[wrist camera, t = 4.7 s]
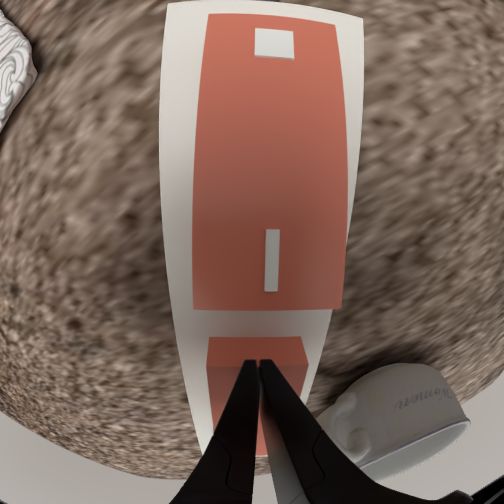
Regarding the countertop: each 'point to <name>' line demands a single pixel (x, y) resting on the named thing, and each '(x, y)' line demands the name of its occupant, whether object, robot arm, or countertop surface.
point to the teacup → (395, 419)
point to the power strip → (181, 190)
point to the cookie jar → (13, 67)
